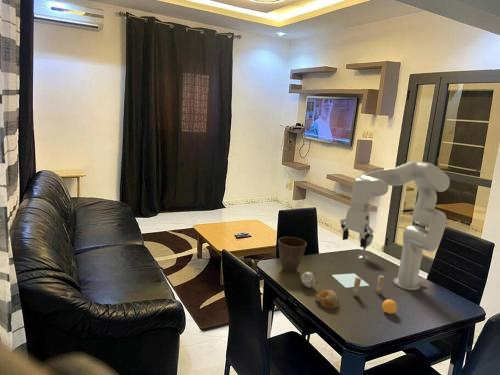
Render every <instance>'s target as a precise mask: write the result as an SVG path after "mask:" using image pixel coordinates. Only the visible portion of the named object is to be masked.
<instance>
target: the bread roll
mask: <svg viewBox="0 0 500 375" xmlns="http://www.w3.org/2000/svg"><path fill="white" fill-rule="evenodd" d="M315 297H316V298H315V300H314V301H315V302H316V303H317V305H318V306H319V307H322V308H324V309H336V308H339V296H338V294H337V293H336V292H335V291H333V290H331V289H330V290H329V289H326V290H325V289H324V290H321V291H319V293H318V294H316V296H315Z"/></svg>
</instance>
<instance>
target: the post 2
mask: <svg viewBox="0 0 500 375" xmlns="http://www.w3.org/2000/svg"><path fill="white" fill-rule="evenodd" d="M384 281H385V276H384V275H379V274H378V278H377V283H376V290H375V294H376V295H378V296H381V295H382V293H383V287H384Z"/></svg>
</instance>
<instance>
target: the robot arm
mask: <svg viewBox="0 0 500 375" xmlns="http://www.w3.org/2000/svg"><path fill="white" fill-rule="evenodd" d="M412 181H414V184H415V186H416V188H417V192H418V197H417V200H416V203H415V206H414V210H413V212H412V217H411V218H412V222H414V223H416V224H418V225H420V226H423V227H426V228H427V229H425V228H422V227H420V226H417V225H408V226H406V227H405V228H404V230H403V231H402V249H401V257H400V263H399V269H398V273H397V277H395V278H394V279H393V284H395V286H397V287H399V288H401V289H404V290H408V291H417V290H420V288H421V285H420V283H421V282H422V283H423V282H425V280H426V278H424V277H420V269H421V264H422V259H423V250H424V251H425V252H426V251H427V252H430V253H432V252H435V251H436V250H438V248H439V246H440V244H441V240H442V238H443V234H444V231H445V229H446V226H447V220H448V219H447V215H446V214H445V212H443V211H441V210H439V209H435V208H436V204H437V200H438V196H437V193H436V192H440V193H443V192H445V191H446V190H448V189H449V187H450V185H451V184H450V183H451V181H450V177H449V176H448V175H447V174H446V173H445V171H443V170H442V169H441V168H439V167H438V166H437V165H435V164H433V163H431V162H425V161H420V160H411V161H408V162H405V163H404V164H401V165H398V166H396V167H393V168H385V169H378V170H373V171H370V172H368V173H365V174H363V175H361V176H360V177H356V178H354V180H353V184H352V189H351V190H352V191H351V192H352V193H351V198H350V206H349V207H348V209H347V212H346V216H345V218H343V219H340V220H339V222H340V227H341V230H342V231H343V232H342V240H343V241H345V240H349V234H350V231H352V232H355V233H357V234H360V233H361V236H362V238H361V243H360V242H359V243H360V245H359V247H360V248H363V247H365V246H366V242H367V238H369V237H370V236H371V235H372V234H373V233H374V229H372V228H371V227H370V220H371V219H370V218H371V217H370V210H371V207H370V205H369V202H370V196H373V197H374V196H376V197H382V196H384V195H386V194H387V193H388V192H389V186H391V187H397V186H398V187H399V186H403V185H405V184H407V183H409V182H412ZM349 230H350V231H349ZM367 232H369V233H368V234H367ZM373 235H374V234H373Z"/></svg>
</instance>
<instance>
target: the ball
mask: <svg viewBox="0 0 500 375" xmlns="http://www.w3.org/2000/svg"><path fill="white" fill-rule="evenodd" d="M397 309H398V306H397V303H396V302H395V300H393V299H391V298H390V299H389V298H388V299H386V300H384V301H383V302H382V310H383V311H384V312H385V313H387V314H389V315H391V314H394V313H395V312H396V311H397Z"/></svg>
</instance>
